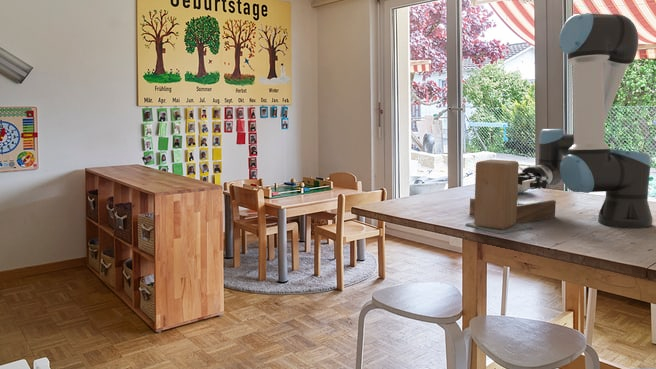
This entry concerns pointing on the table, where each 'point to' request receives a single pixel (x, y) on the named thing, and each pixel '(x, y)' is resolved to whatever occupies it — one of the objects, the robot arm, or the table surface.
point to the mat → (510, 229)
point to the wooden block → (496, 194)
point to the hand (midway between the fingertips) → (502, 183)
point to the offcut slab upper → (527, 202)
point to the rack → (529, 210)
